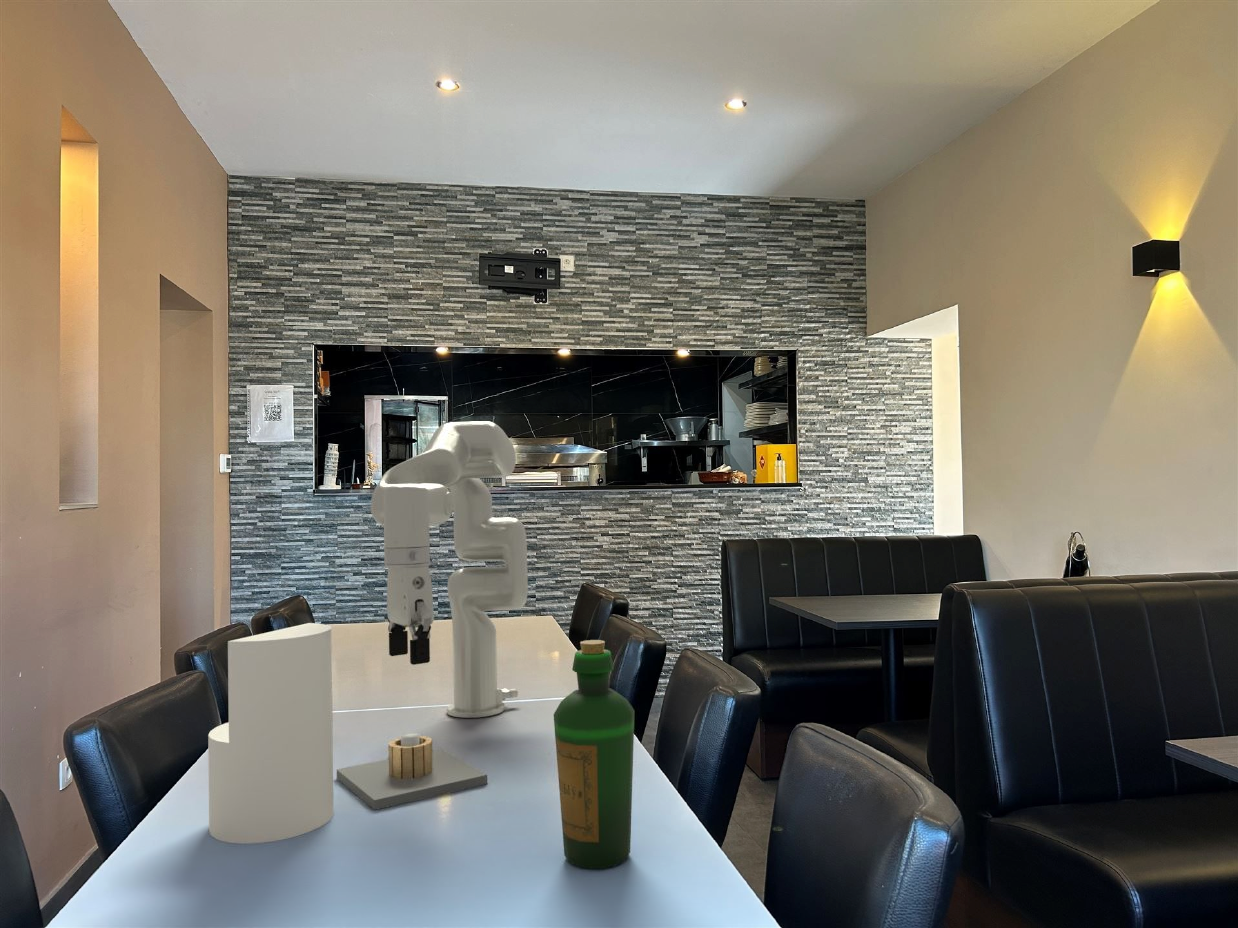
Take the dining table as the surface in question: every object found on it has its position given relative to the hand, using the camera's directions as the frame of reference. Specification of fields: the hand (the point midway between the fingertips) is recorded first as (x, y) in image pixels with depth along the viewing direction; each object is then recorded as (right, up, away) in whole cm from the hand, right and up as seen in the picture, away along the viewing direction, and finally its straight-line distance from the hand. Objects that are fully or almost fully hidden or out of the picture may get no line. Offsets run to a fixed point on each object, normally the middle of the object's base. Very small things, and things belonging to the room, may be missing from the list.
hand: (409, 658), depth 148 cm
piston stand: (+1, -20, -1) cm, 20 cm away
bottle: (+33, -19, -33) cm, 50 cm away
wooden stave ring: (+1, -19, -1) cm, 19 cm away
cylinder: (-16, -20, -17) cm, 31 cm away
